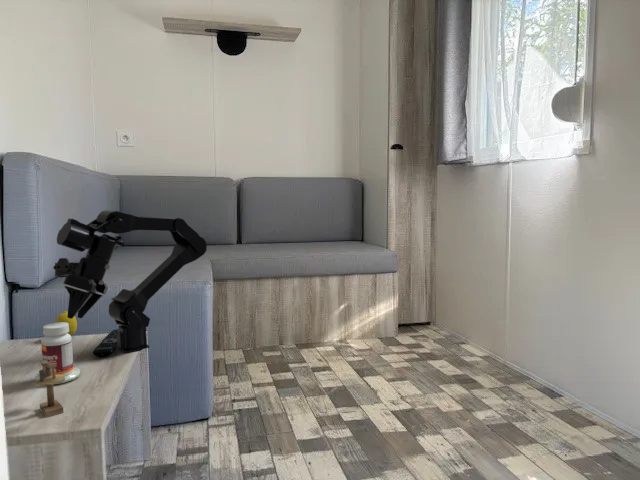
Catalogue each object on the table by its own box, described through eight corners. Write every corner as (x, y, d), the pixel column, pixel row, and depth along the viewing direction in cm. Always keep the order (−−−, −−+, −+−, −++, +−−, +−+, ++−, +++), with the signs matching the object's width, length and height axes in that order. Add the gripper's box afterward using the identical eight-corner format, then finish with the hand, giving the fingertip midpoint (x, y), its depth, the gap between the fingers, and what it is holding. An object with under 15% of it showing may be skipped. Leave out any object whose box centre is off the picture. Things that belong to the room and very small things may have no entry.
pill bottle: (37, 377, 115) (33, 328, 114) (56, 367, 121) (53, 320, 120) (61, 379, 114) (58, 329, 113) (79, 369, 120) (76, 322, 119)
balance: (34, 403, 104) (30, 353, 103) (54, 398, 107) (50, 349, 105) (48, 423, 96) (45, 368, 95) (69, 417, 98) (66, 364, 97)
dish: (73, 368, 124) (73, 363, 124) (85, 379, 117) (85, 374, 117) (31, 377, 118) (31, 373, 118) (41, 389, 111) (41, 384, 111)
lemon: (56, 342, 144) (54, 314, 143) (56, 337, 149) (54, 310, 148) (78, 339, 146) (76, 312, 145) (77, 334, 151) (75, 307, 150)
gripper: (75, 252, 138) (52, 308, 135) (54, 242, 119) (27, 307, 116) (117, 265, 139) (95, 321, 136) (102, 257, 121) (77, 322, 118)
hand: (74, 318), depth 127 cm, fingers open, 9 cm apart
